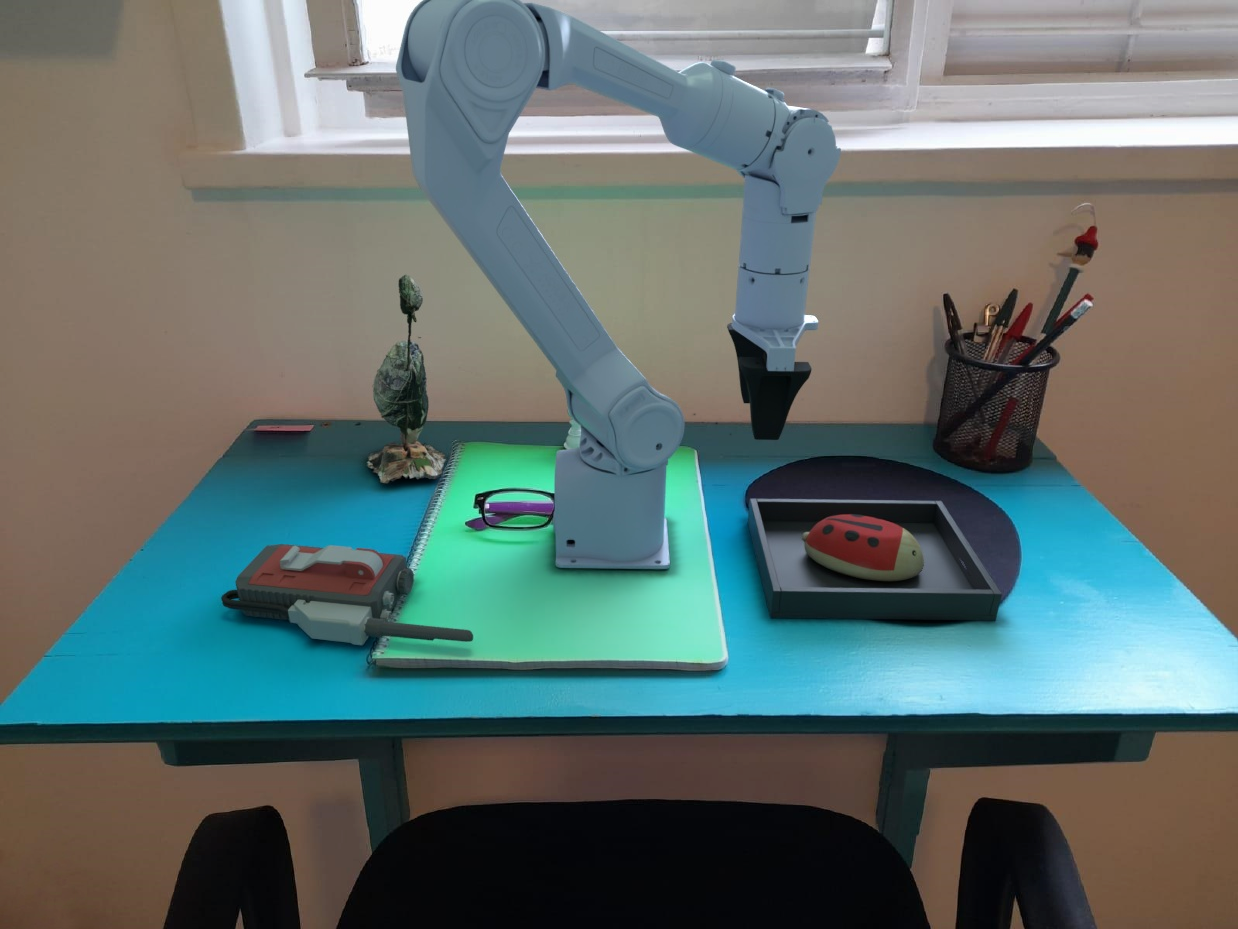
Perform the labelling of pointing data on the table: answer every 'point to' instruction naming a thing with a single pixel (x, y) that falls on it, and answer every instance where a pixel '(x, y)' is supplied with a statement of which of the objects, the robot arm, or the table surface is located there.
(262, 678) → the table surface
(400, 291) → the plant with pod
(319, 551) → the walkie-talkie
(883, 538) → the ladybug figurine
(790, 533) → the tray
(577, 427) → the chess pawn
